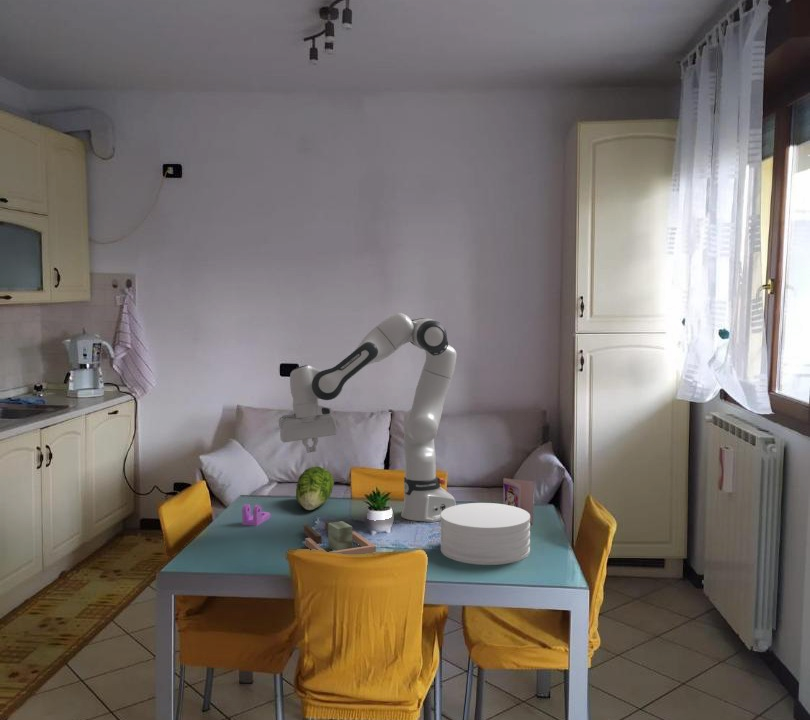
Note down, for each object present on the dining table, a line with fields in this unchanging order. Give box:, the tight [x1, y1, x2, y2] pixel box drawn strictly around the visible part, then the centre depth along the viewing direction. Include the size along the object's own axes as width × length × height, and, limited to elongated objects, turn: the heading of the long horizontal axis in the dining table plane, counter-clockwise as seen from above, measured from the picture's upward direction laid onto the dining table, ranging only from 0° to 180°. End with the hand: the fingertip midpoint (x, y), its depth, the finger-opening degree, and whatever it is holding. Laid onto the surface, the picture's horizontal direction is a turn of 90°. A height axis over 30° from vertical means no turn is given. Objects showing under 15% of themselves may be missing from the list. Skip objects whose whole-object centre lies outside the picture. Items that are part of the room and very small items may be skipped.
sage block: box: [327, 520, 353, 551], centre depth 250 cm, size 5×7×8 cm
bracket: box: [241, 503, 271, 527], centre depth 283 cm, size 13×6×7 cm, turn 164°
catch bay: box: [304, 530, 377, 554], centre depth 250 cm, size 17×18×2 cm
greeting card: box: [502, 477, 534, 525], centre depth 278 cm, size 11×7×15 cm, turn 23°
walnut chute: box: [302, 521, 331, 545], centre depth 264 cm, size 9×14×2 cm, turn 26°
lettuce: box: [295, 466, 335, 511], centre depth 301 cm, size 14×23×13 cm, turn 177°
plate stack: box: [440, 502, 531, 566], centre depth 249 cm, size 28×28×12 cm
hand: (311, 452), depth 274 cm, fingers closed
